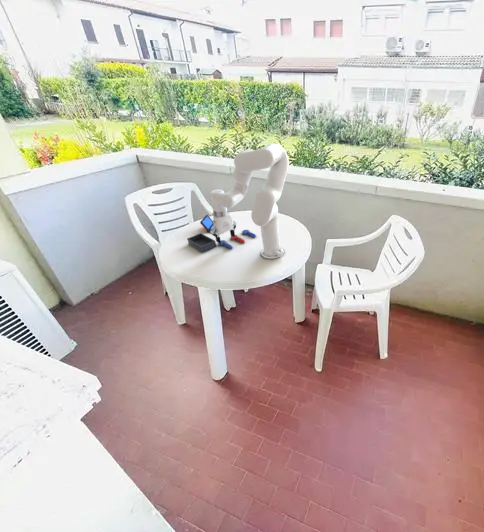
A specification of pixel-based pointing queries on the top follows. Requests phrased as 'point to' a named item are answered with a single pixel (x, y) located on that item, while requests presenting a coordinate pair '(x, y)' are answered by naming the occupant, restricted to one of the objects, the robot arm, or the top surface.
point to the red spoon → (237, 239)
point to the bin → (201, 242)
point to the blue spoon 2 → (248, 233)
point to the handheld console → (207, 223)
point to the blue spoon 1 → (225, 244)
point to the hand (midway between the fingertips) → (226, 239)
